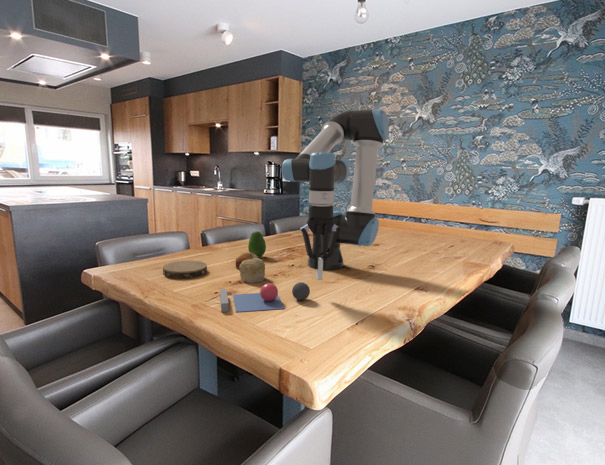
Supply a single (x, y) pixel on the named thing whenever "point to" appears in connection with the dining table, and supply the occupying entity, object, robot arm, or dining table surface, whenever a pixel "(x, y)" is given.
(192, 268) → the round stone disc
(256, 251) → the fruit
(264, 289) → the red object ball
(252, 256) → the bread roll
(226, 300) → the wall
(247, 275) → the coral
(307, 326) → the dining table surface
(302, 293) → the dark gray ball
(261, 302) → the blue flat square slab
